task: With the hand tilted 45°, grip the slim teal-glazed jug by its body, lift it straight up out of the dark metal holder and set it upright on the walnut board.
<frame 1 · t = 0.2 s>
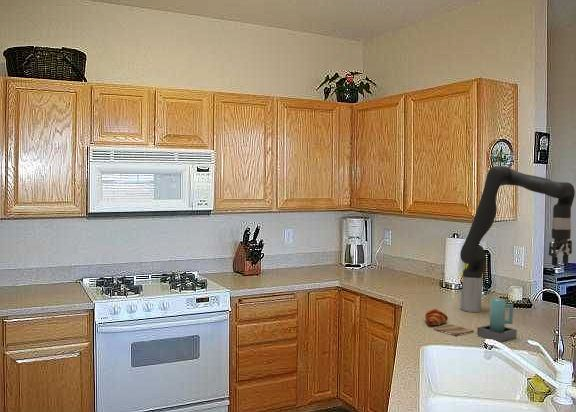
hand: (559, 264, 248), 29 cm above the worktop, tool pointing down, fingers open, 8 cm apart
board: (453, 331, 246), on the worktop
jug: (501, 318, 237), in the holder
holder: (496, 336, 238), on the worktop
croissant: (436, 323, 261), on the worktop
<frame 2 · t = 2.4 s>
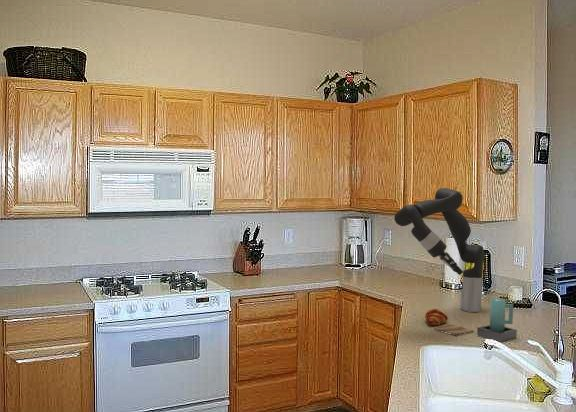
hand: (459, 272, 239), 27 cm above the worktop, tool tilted 45°, fingers open, 8 cm apart
nothing on the worktop moved.
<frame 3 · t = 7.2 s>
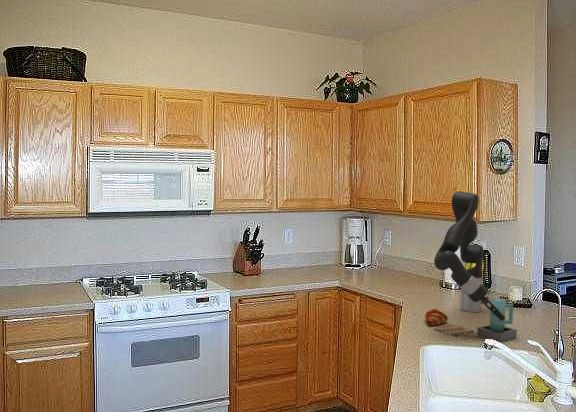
hand: (501, 317, 237), 8 cm above the worktop, tool tilted 45°, fingers closed on jug, 6 cm apart
jug: (501, 318, 237), in the holder, touching gripper
everything else where it was.
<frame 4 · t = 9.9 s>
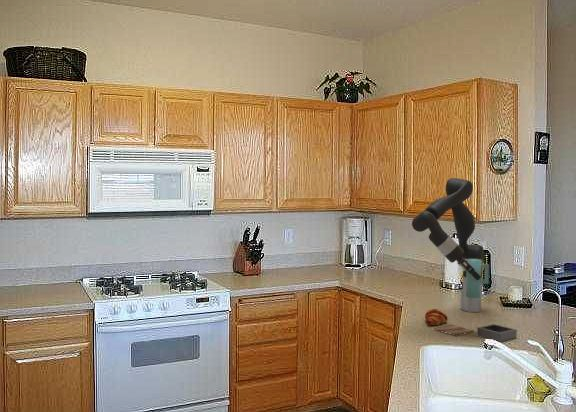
hand: (477, 277, 241), 24 cm above the worktop, tool tilted 45°, fingers closed on jug, 6 cm apart
jug: (477, 278, 241), point 24 cm above the worktop, touching gripper
everything else where it was.
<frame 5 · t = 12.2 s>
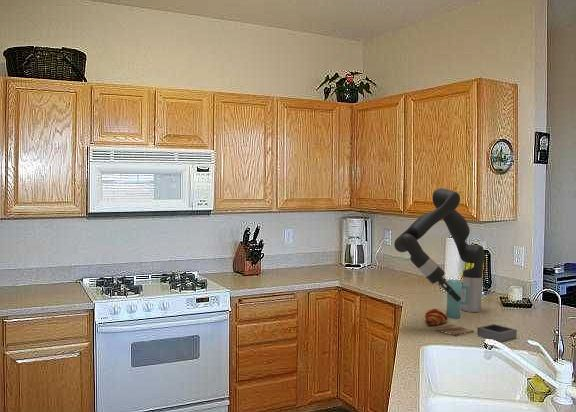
hand: (458, 298, 245), 14 cm above the worktop, tool tilted 45°, fingers closed on jug, 6 cm apart
jug: (457, 299, 245), point 14 cm above the worktop, touching gripper
everything else where it was.
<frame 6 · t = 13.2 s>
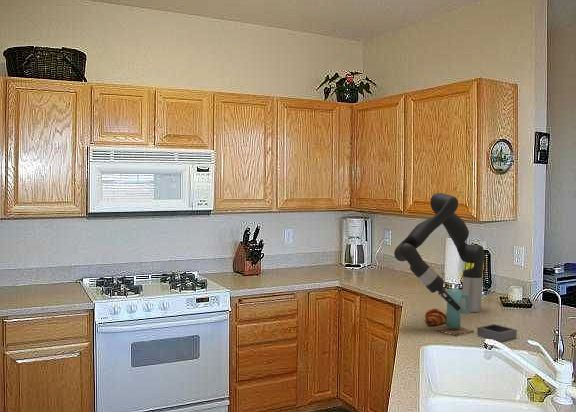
hand: (457, 307, 246), 10 cm above the worktop, tool tilted 45°, fingers closed on jug, 6 cm apart
jug: (457, 308, 246), point 10 cm above the worktop, touching gripper
everything else where it was.
when the fingers open (10 cm above the worktop, at t = 13.6 s): jug drops 1 cm, resting on board.
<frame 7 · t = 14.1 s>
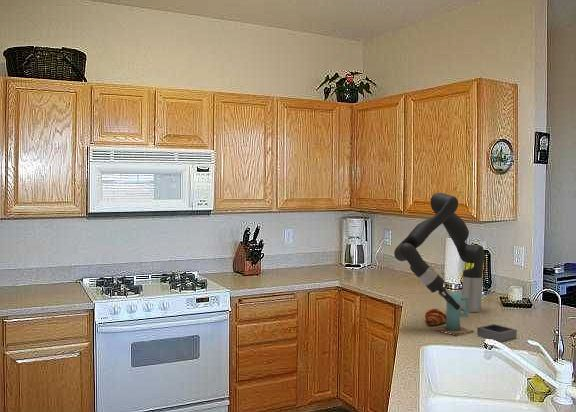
hand: (457, 306, 245), 11 cm above the worktop, tool tilted 45°, fingers open, 8 cm apart
jug: (456, 311, 246), on the board, point 9 cm above the worktop
everything else where it was.
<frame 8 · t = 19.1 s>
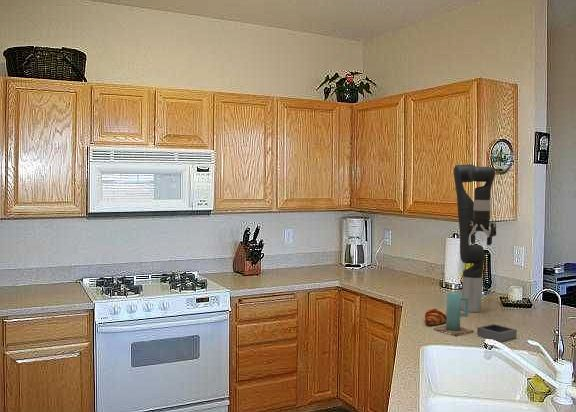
hand: (480, 244, 263), 36 cm above the worktop, tool pointing down, fingers open, 8 cm apart
nothing on the worktop moved.
at the end: jug inside the target area on the board (0.2 cm from its centre), point 8.8 cm above the board's base; jug tilted 0°; the gripper is holding nothing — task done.
